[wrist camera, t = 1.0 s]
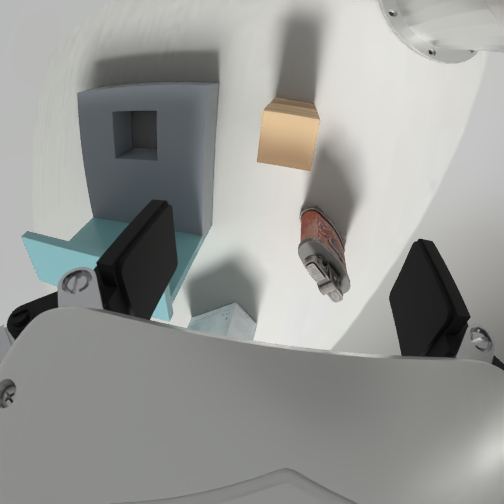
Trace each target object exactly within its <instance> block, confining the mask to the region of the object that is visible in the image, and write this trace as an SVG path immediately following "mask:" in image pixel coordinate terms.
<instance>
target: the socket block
mask: <svg viewBox="0 0 504 504" xmlns="http://www.w3.org/2000/svg"><path fill="white" fill-rule="evenodd" d="M218 92H219V83H211V82H154V83H136V84H123V85H113V86H105V87H97V88H93V89H89V90H86V91H82V92H79V93H77V94H78V113H79V126H80V137H81V146H82V154H83V162H84V168H85V175H86V181H87V187H88V193H89V198H90V203H91V208H92V213H93V218H92V219H91V220H90V221H89V222H88V223H87V224H86V225H85V226H84V227H83V228H82V229H81V230H80V231H79V232H78V233H77V234H76V235H75V236H74V237H73V238H72V239H71V240H70V241H65V240H61V239H57V238H53V237H49V236H45V235H41V234H37V233H33V232H29V231H27V232H26V233H25V234H24V235H23V236H22V239H23V242H24V244H25V247H26V249H27V252H28V254H29V257H30V259H31V262H32V264H33V266H34V269H35V271H36V273H37V275H38V278H39V280H41V281H44V282H46V283H49V284H52V285H54V286H57V287H58V282H59V281H60V279H61V277H62V276H63V275H64V274H65V273H67V272H68V271H70V270H72V269H74V268H78V267H88V268H91V269H92V270H94V268H95V267H96V266H97V264H96V262H97V261H98V260H99V258H100V257H101V256H102V255H103V254H104V252H105V251H106V250H107V249H108V248H109V247H110V245H111V244H112V243H113V242H114V241H115V240H116V238H117V237H118V236H119V235H120V234H121V233H122V232H123V230H124V229H125V228H126V227H127V226H128V225H129V224H130V223H131V222H132V220H133V219H134V218H135V217H136V216H137V215H138V214H139V213H140V212H141V211H142V210H143V209H144V208H145V206H146V205H147V204H148V203H149V202H150V201H151V200H153V199H155V200H166V201H167V202H168V204H169V205H172V208H173V219H174V229H175V239H176V249H177V257H178V265H177V269H176V271H175V273H174V274H173V276H172V278H171V280H170V282H169V284H168V286H167V288H166V289H165V291H164V293H163V295H162V297H161V299H160V301H159V303H158V305H157V307H156V309H155V311H154V312H153V314H152V316H151V317H154V318H158V319H162V320H165V321H169V322H170V320H171V317H172V315H173V308H172V303H173V301H174V299H175V297H176V295H177V293H178V291H179V289H180V287H181V285H182V283H183V281H184V279H185V277H186V275H187V273H188V271H189V269H190V267H191V265H192V263H193V261H194V259H195V257H196V255H197V253H198V251H199V249H200V247H201V245H202V243H203V241H204V239H205V237H206V236H207V234H208V232H209V230H210V228H211V226H212V204H213V177H214V155H215V137H216V120H217V106H218ZM131 111H157V149H150V148H133V144H132V121H131Z"/></svg>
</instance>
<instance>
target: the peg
mask: <svg viewBox="0 0 504 504" xmlns="http://www.w3.org/2000/svg"><path fill="white" fill-rule="evenodd" d="M319 124H320V118H319V115H318V113H317V110H316V107H315V104H313V103H307V102H302V101H296V100H290V99H283V98H277V97H275V98H274V99H273V100H272V102H271V103H270V104H269V105H268V106H267V107H266V108H265V109H264V110H263V115H262V123H261V132H260V140H259V149H258V158H257V162H260V163H266V164H273V165H279V166H285V167H290V168H296V169H301V170H306V171H311V166H312V161H313V155H314V150H315V145H316V140H317V135H318V129H319Z"/></svg>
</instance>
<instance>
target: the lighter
mask: <svg viewBox="0 0 504 504" xmlns="http://www.w3.org/2000/svg"><path fill="white" fill-rule="evenodd" d="M300 222H301V243H300V244H299V247H298V254H299V257H300V259H301V261H302V262H303V264H304V266H305V268H306V269H307V271H308V272H309V274H310V275H311V276H312V278H313V279H314V280H315V281H316V282H317V285H318V288H319V290H320V292H321V293H322V294H323V295H325V294H327V295H328V296H329V298H330V299H331V300H332V301H333V302H335V303H337V302H340V301H342V300H343V294H344V293H346V292H347V291H348V290H349V289H350V279H349V277H348V274H347V270H346V263H345V256H344V252H345V246H344V243H343V240H342V237H341V235H340V233H339V231H338V230H337V228H336V226H335V225H334V223H333V222H332V221H331V220H330V218H329V217H328V216H327V215H326V214H325V213H324V212H323V211H322V210H321V209H320V208H318V207H317V206H314V205H309V206H306V207H305V208H303V209H302V211H301V212H300Z"/></svg>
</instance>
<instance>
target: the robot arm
mask: <svg viewBox="0 0 504 504" xmlns="http://www.w3.org/2000/svg"><path fill="white" fill-rule="evenodd" d="M379 4H380V7H381V10H382V13H383V15H384V17H385V19H386V20H387V22H388V24H389V25H390V27H391V28H392V30H393V31H394V32H395V34H396V35H397V36H398V37H399V38H400V39H401V40H402V41H403V42H404V43H405V44H406V45H407V46H409V47H410V48H411V49H412V50H414V51H415V52H417V53H418V54H420V55H422V56H424V57H426V58H428V59H430V60H434V61H437V62H441V63H461V62H465V61H467V60H469V59H471V58H472V57H473V56H474V55H475V54H476V53H477V52H478V51H494V52H504V0H379ZM389 12H391V13H392V14H393V16H391V15H390V14H389ZM429 50H430V52H431V54H429ZM96 264H97V266H96V267H95V268H94V270H92V269H91V268H88V267H78V268H74V269H72V270H70V271H68V272H67V273H65V274H64V275H63V276H62V277H61V279H60V281H59V282H58V291H57V292H54V293H52V294H49V295H47V296H44V297H42V298H39V299H37V300H34V301H32V302H29V303H26V304H24V305H21V306H20V307H18V308H16V309H15V310H14V311H13V312H12V314H11V315H10V317H9V319H8V321H7V327H6V328H5V327H4V326H3V325H2V326H1V327H0V504H504V364H503V363H502V362H501V361H500V360H499V359H497V358H496V357H495V356H494V352H495V341H494V339H493V337H492V335H491V334H490V332H489V331H488V330H487V329H486V328H485V327H483V326H482V325H480V324H476V323H475V324H471V325H469V326H468V324H467V321H468V320H469V318H470V315H469V312H468V310H467V307H466V305H465V303H464V301H463V299H462V296H461V294H460V292H459V290H458V288H457V286H456V284H455V282H454V280H453V278H452V276H451V274H450V272H449V270H448V268H447V266H446V264H445V262H444V260H443V259H442V257H441V255H440V253H439V251H438V250H437V248H436V246H435V244H434V243H433V242H432V241H429V240H423V239H418V241H417V242H414V243H413V245H412V247H411V249H410V251H409V254H408V256H407V258H406V260H405V263H404V265H403V267H402V269H401V271H400V273H399V276H398V278H397V280H396V282H395V284H394V286H393V288H392V290H391V292H390V296H389V300H390V305H391V308H392V313H393V317H394V321H395V326H396V330H397V335H398V339H399V344H400V349H401V354H402V356H395V355H377V354H362V353H351V352H340V351H329V350H320V349H311V348H302V347H294V346H287V345H279V344H272V343H266V342H259V341H253V340H247V339H241V338H235V337H229V336H224V335H218V334H213V333H208V332H202V331H197V330H193V329H188V328H183V327H178V326H174V325H170V324H165V323H160V322H156V321H151V320H150V318H151V316H152V314H153V312H154V311H155V309H156V307H157V305H158V303H159V301H160V299H161V297H162V295H163V293H164V291H165V289H166V288H167V286H168V284H169V282H170V280H171V278H172V276H173V274H174V273H175V271H176V269H177V265H178V257H177V249H176V239H175V229H174V219H173V208H172V205H169V204H168V202H167V201H166V200H155V199H153V200H151V201H150V202H149V203H148V204H147V205H146V206H145V208H144V209H143V210H142V211H141V212H140V213H139V214H138V215H137V216H136V217H135V218H134V219H133V220H132V222H131V223H130V224H129V225H128V226H127V227H126V228H125V229H124V230H123V232H122V233H121V234H120V235H119V236H118V237H117V238H116V240H115V241H114V242H113V243H112V244H111V245H110V247H109V248H108V249H107V250H106V251H105V252H104V254H103V255H102V256H101V257H100V258H99V260H98V261H97V262H96Z"/></svg>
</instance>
